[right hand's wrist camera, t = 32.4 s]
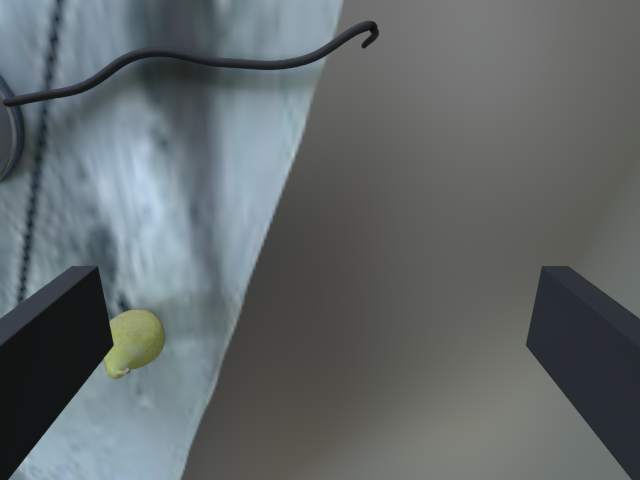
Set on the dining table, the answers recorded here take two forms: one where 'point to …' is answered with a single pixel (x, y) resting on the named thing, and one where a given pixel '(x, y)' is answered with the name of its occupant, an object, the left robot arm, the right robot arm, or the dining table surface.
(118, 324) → the fruit
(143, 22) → the dining table surface
